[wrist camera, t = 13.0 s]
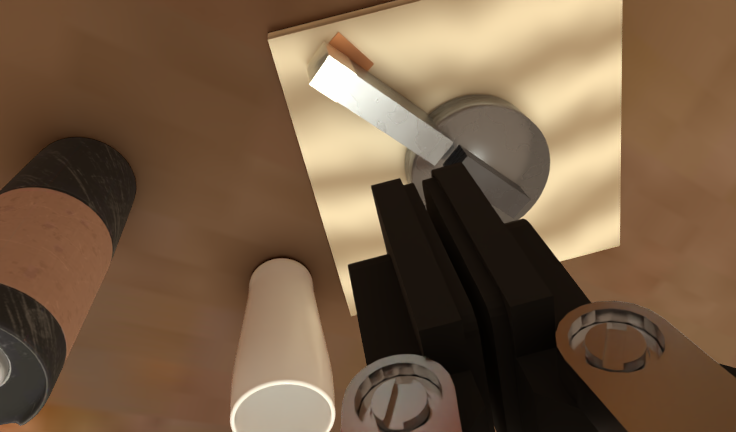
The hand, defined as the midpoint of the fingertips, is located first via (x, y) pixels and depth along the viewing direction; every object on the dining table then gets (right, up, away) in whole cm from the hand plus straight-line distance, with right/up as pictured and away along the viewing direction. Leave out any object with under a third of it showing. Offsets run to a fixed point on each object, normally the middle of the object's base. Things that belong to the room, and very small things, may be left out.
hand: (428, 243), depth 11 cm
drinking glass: (-8, -5, +39) cm, 40 cm away
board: (+6, +6, +35) cm, 36 cm away
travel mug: (-22, +3, +32) cm, 39 cm away
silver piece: (+3, +7, +31) cm, 32 cm away
